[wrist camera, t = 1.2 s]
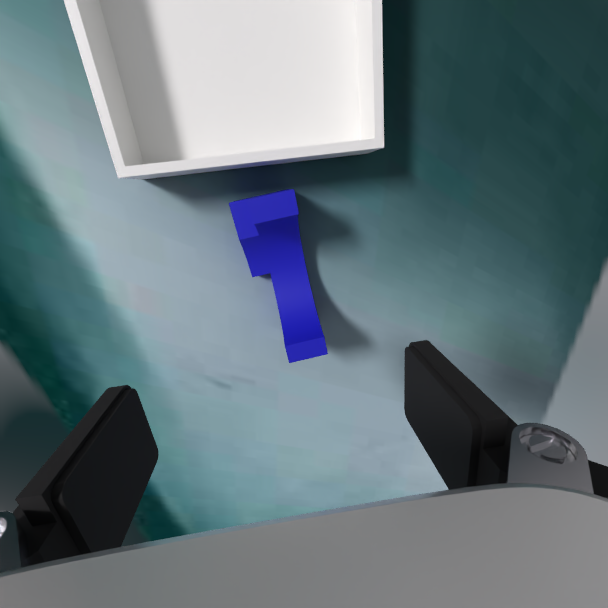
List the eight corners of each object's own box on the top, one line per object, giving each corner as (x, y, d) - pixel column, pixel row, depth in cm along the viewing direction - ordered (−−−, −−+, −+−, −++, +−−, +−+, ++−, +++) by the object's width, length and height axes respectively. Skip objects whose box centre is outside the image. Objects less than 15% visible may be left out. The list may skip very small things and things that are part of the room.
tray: (53, -141, 17) (-8, -233, 13) (356, -158, 18) (378, -249, 14) (142, 179, 23) (118, 177, 19) (366, 153, 24) (384, 147, 20)
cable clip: (233, 201, 24) (222, 205, 19) (288, 189, 25) (293, 189, 19) (270, 332, 29) (270, 367, 23) (316, 322, 29) (327, 354, 23)
